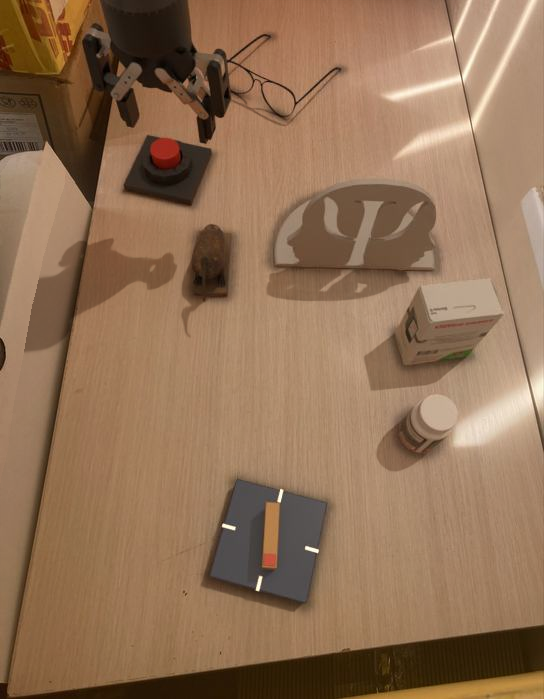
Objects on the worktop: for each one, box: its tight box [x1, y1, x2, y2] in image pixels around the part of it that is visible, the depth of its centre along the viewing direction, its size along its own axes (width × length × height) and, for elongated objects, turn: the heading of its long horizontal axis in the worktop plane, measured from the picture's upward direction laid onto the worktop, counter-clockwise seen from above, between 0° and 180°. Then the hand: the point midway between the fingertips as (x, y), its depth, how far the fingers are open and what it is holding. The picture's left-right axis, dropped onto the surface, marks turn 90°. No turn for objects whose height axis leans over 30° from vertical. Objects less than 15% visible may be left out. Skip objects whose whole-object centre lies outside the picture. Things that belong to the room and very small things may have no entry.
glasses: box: [227, 33, 342, 118], centre depth 87 cm, size 14×15×5 cm
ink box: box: [394, 277, 506, 366], centre depth 63 cm, size 9×5×12 cm, turn 98°
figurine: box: [191, 223, 232, 302], centre depth 68 cm, size 14×4×9 cm, turn 179°
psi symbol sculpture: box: [273, 177, 437, 271], centre depth 68 cm, size 22×13×17 cm, turn 89°
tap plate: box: [209, 478, 328, 604], centre depth 57 cm, size 10×10×3 cm
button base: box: [123, 134, 213, 206], centre depth 78 cm, size 10×10×3 cm
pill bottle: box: [398, 393, 459, 454], centre depth 60 cm, size 5×5×8 cm
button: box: [150, 137, 181, 170], centre depth 76 cm, size 4×4×2 cm
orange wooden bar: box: [262, 502, 280, 570], centre depth 53 cm, size 6×1×4 cm, turn 177°
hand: (169, 130), depth 60 cm, fingers open, 8 cm apart
